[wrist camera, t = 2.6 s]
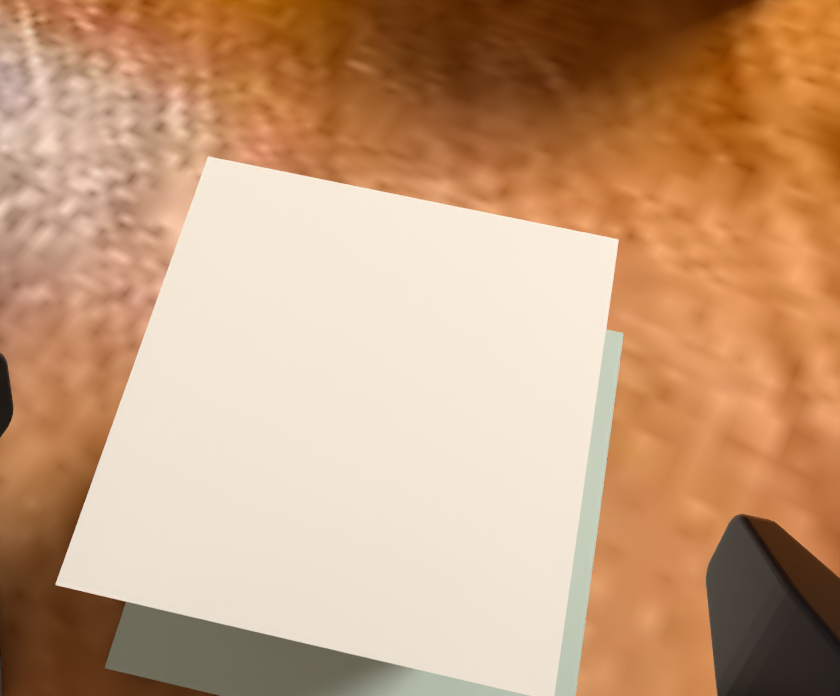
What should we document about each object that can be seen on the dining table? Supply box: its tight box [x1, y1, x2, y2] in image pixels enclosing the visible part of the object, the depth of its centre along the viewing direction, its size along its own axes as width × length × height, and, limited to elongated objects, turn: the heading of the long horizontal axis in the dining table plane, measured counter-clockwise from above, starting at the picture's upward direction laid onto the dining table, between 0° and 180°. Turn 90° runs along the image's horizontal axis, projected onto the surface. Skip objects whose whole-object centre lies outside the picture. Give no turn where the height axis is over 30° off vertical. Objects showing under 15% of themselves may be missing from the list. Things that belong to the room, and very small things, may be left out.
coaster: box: [105, 330, 623, 696], centre depth 15 cm, size 10×10×4 cm
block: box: [55, 156, 619, 696], centre depth 12 cm, size 5×5×9 cm
